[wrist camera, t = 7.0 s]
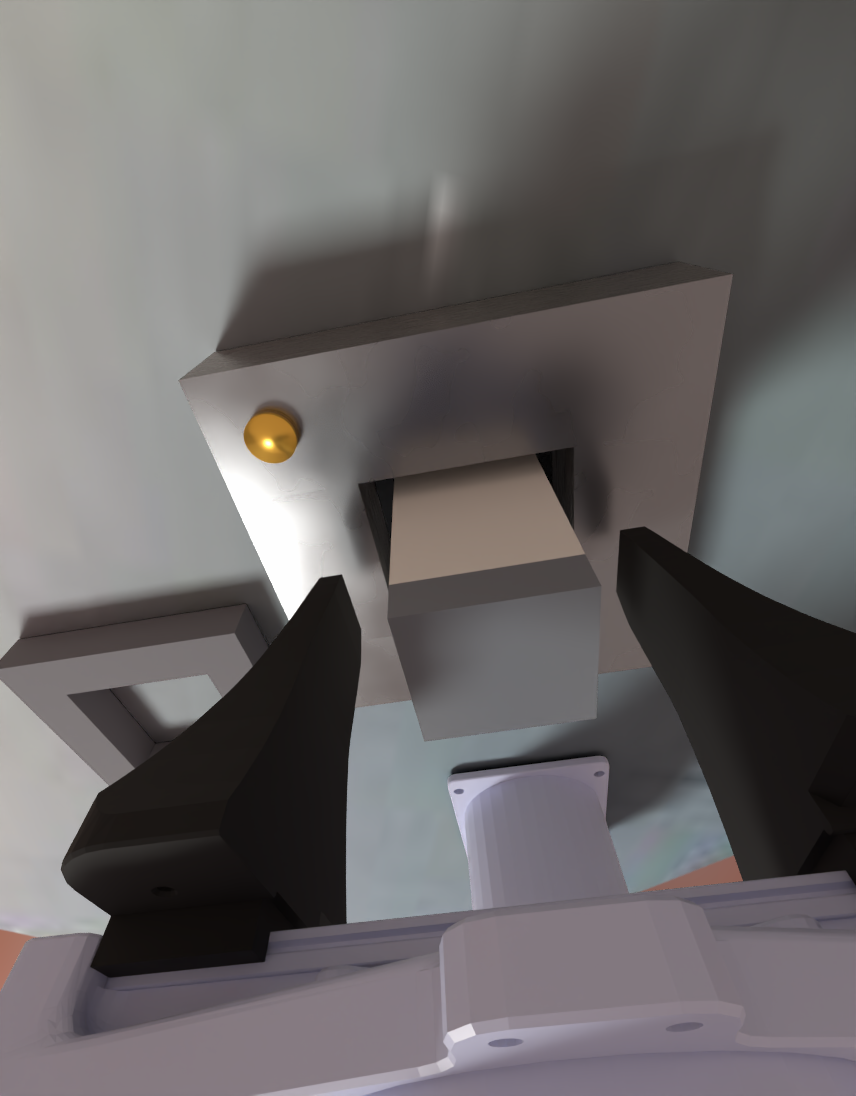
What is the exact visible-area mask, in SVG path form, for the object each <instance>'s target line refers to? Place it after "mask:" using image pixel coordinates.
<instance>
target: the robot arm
mask: <svg viewBox="0 0 856 1096" xmlns="http://www.w3.org/2000/svg"><path fill="white" fill-rule="evenodd" d="M616 593H617V596H618V598H619V601H620V603H621V606H622V609H623V611H624V614H625V616H626V619H627V621H628V624H629V626H630V628H631V630H632V631H633V633H634V635H635V637H636V639H637V640H638V642H639V644H640V646H641V648H642V649H643V651H644V653H645V655H646V657H647V658H648V660H649V662H650V664H651V665H652V667H653V669H654V671H655V672H656V674H657V676H658V678H659V679H660V681H661V683H662V685H663V687H664V688H665V690H666V692H667V694H668V695H669V697H670V699H671V701H672V703H673V705H674V707H675V709H676V711H677V713H678V715H679V717H680V720H681V722H682V724H683V727H684V729H685V731H686V733H687V736H688V738H689V740H690V743H691V745H692V747H693V750H694V752H695V755H696V757H697V760H698V762H699V764H700V767H701V769H702V772H703V774H704V777H705V779H706V782H707V784H708V787H709V789H710V792H711V794H712V797H713V800H714V802H715V805H716V807H717V810H718V813H719V815H720V818H721V821H722V823H723V826H724V829H725V831H726V834H727V837H728V839H729V842H730V845H731V848H732V851H733V854H734V856H735V859H736V862H737V865H738V868H739V871H740V873H741V876H742V879H743V881H742V882H732V883H723V884H714V885H704V886H694V887H686V888H676V889H666V890H658V891H648V892H638V893H629V892H628V889H627V886H626V882H625V879H624V876H623V873H622V870H621V867H620V864H619V860H618V857H617V854H616V851H615V848H614V845H613V842H612V839H611V835H610V832H609V829H608V826H607V823H606V806H607V793H608V780H609V763H608V760H607V758H605V757H604V756H592V757H584V758H576V759H568V760H560V761H553V762H545V763H537V764H529V765H521V766H513V767H505V768H498V769H490V770H482V771H474V772H466V773H458V774H453V775H451V776H449V777H448V779H447V784H448V789H449V793H450V797H451V800H452V804H453V807H454V811H455V815H456V818H457V822H458V825H459V829H460V832H461V836H462V840H463V843H464V847H465V850H466V854H467V857H468V864H469V875H470V886H471V897H472V908H473V910H471V911H461V912H452V913H443V914H433V915H424V916H415V917H405V918H396V919H387V920H377V921H368V922H359V923H349V924H347V922H346V811H347V779H348V757H349V747H350V738H351V731H352V724H353V717H354V711H355V704H356V697H357V690H358V683H359V676H360V668H361V627H360V624H359V621H358V618H357V616H356V613H355V610H354V607H353V604H352V601H351V598H350V596H349V593H348V590H347V587H346V584H345V581H344V578H343V575H342V574H340V575H334V576H328V577H321V578H319V579H318V581H317V582H316V584H315V585H314V586H313V588H312V589H311V590H310V592H309V593H308V595H307V596H306V598H305V599H304V601H303V602H302V603H301V605H300V606H299V608H298V609H297V611H296V612H295V613H294V615H293V616H292V618H291V619H290V620H289V622H288V623H287V624H286V626H285V627H284V628H283V630H282V631H281V632H280V634H279V635H278V636H277V638H276V639H275V640H274V641H273V643H272V644H271V645H270V646H269V648H268V649H267V650H266V651H265V653H264V654H263V655H262V656H261V657H260V659H259V660H258V661H257V662H256V663H255V665H254V666H253V667H252V668H251V669H250V670H249V671H248V672H247V673H246V674H245V676H244V677H243V678H242V679H241V680H240V681H239V682H238V683H237V684H236V685H235V686H234V687H233V688H232V689H231V690H230V691H229V692H228V693H227V694H226V695H225V696H224V697H223V698H222V699H220V700H219V701H218V702H217V703H216V704H215V705H214V706H213V707H212V708H211V709H209V710H208V711H207V712H206V713H205V714H204V715H203V716H202V717H201V718H199V719H198V720H197V721H196V722H195V723H194V724H193V725H191V726H190V727H189V728H188V729H187V730H185V731H184V732H183V733H182V734H180V735H179V736H178V737H177V738H176V739H174V740H173V741H172V742H170V743H169V744H168V745H166V746H165V747H164V748H163V749H161V750H160V751H159V752H157V753H156V754H155V755H153V756H152V757H151V758H149V759H148V760H147V761H145V762H144V763H142V764H141V765H139V766H138V767H136V768H135V769H134V770H132V771H131V772H129V773H128V774H126V775H125V776H123V777H122V778H120V779H119V780H117V781H116V782H115V783H113V784H112V785H110V786H109V787H107V788H106V789H104V790H103V791H101V792H99V793H98V795H97V797H96V799H95V800H94V802H93V804H92V806H91V808H90V810H89V812H88V814H87V816H86V817H85V819H84V821H83V823H82V825H81V827H80V829H79V831H78V833H77V835H76V837H75V838H74V840H73V842H72V844H71V846H70V848H69V850H68V852H67V854H66V856H65V858H64V859H63V862H62V866H61V871H62V873H63V876H64V878H65V880H66V882H67V883H68V884H69V885H70V886H71V887H72V888H73V889H74V890H75V891H76V892H78V893H79V894H81V895H82V896H84V897H85V898H86V899H88V900H89V901H91V902H92V903H94V904H95V905H96V906H98V907H99V908H101V909H102V910H103V911H105V912H106V913H108V914H109V915H111V918H110V920H109V923H108V925H107V927H106V930H105V932H104V935H103V936H102V935H99V934H93V933H75V934H66V935H57V936H48V937H39V938H32V939H30V940H28V941H27V942H26V943H25V945H24V947H23V949H22V950H21V952H20V955H19V956H18V958H17V960H16V962H15V964H14V966H13V968H12V970H11V972H10V974H9V976H8V978H7V980H6V981H5V983H4V985H3V987H2V989H1V991H0V1096H856V633H853V632H851V631H848V630H845V629H843V628H840V627H837V626H834V625H832V624H829V623H826V622H824V621H821V620H818V619H816V618H813V617H811V616H808V615H806V614H803V613H801V612H799V611H796V610H794V609H792V608H790V607H788V606H785V605H783V604H781V603H779V602H776V601H774V600H772V599H770V598H768V597H765V596H763V595H761V594H759V593H757V592H755V591H753V590H751V589H750V588H748V587H746V586H744V585H742V584H740V583H738V582H736V581H734V580H733V579H731V578H729V577H727V576H725V575H724V574H722V573H720V572H718V571H716V570H715V569H713V568H711V567H710V566H708V565H706V564H705V563H703V562H701V561H700V560H698V559H696V558H695V557H693V556H691V555H690V554H688V553H687V552H685V551H683V550H682V549H680V548H679V547H677V546H676V545H674V544H672V543H671V542H669V541H668V540H666V539H665V538H663V537H661V536H660V535H658V534H657V533H655V532H653V531H652V530H650V529H648V528H647V527H645V526H643V527H637V528H630V529H624V530H620V537H619V553H618V568H617V584H616Z"/></svg>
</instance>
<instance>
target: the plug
mask: <svg viewBox="0 0 856 1096" xmlns="http://www.w3.org/2000/svg"><path fill="white" fill-rule="evenodd" d="M600 611H601V584H600V582H599V580H598V578H597V576H596V574H595V572H594V570H593V568H592V566H591V564H590V562H589V560H588V558H587V556H586V554H585V552H584V550H583V548H582V546H581V544H580V542H579V540H578V538H577V536H576V534H575V532H574V530H573V528H572V526H571V525H570V523H569V521H568V519H567V517H566V515H565V513H564V511H563V509H562V507H561V505H560V503H559V501H558V499H557V497H556V495H555V493H554V491H553V489H552V487H551V485H550V483H549V481H548V479H547V477H546V475H545V473H544V471H543V469H542V467H541V465H540V463H539V461H538V459H537V457H536V455H535V454H529V455H523V456H518V457H512V458H506V459H500V460H494V461H488V462H483V463H477V464H471V465H465V466H459V467H453V468H448V469H442V470H436V471H430V472H424V473H418V474H413V475H407V476H401V477H395V478H394V494H393V514H392V534H391V554H390V574H389V593H388V613H387V620H388V623H389V626H390V629H391V633H392V636H393V639H394V643H395V646H396V649H397V652H398V656H399V659H400V662H401V666H402V669H403V672H404V675H405V679H406V682H407V685H408V689H409V692H410V695H411V698H412V702H413V705H414V708H415V712H416V715H417V718H418V721H419V725H420V728H421V731H422V735H423V738H424V741H432V740H440V739H447V738H455V737H462V736H470V735H477V734H485V733H492V732H500V731H507V730H515V729H522V728H530V727H537V726H545V725H552V724H560V723H567V722H575V721H582V720H590V719H596V718H597V691H598V664H599V637H600Z"/></svg>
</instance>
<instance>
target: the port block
mask: <svg viewBox="0 0 856 1096" xmlns="http://www.w3.org/2000/svg"><path fill="white" fill-rule="evenodd" d="M732 278H733V274H731V273H727V272H722V271H718V270H713V269H709V268H704V267H700V266H695V265H691V264H687V263H682V262H674V263H669V264H664V265H659V266H654V267H649V268H644V269H638V270H633V271H628V272H623V273H618V274H613V275H608V276H603V277H597V278H592V279H587V280H582V281H577V282H572V283H567V284H561V285H556V286H551V287H546V288H541V289H536V290H531V291H526V292H520V293H515V294H510V295H505V296H500V297H495V298H490V299H484V300H479V301H474V302H469V303H464V304H459V305H454V306H449V307H443V308H438V309H433V310H428V311H423V312H418V313H413V314H408V315H402V316H397V317H392V318H387V319H382V320H377V321H372V322H366V323H361V324H356V325H351V326H346V327H341V328H336V329H331V330H325V331H320V332H315V333H310V334H305V335H300V336H295V337H289V338H284V339H279V340H274V341H269V342H264V343H259V344H254V345H248V346H243V347H238V348H233V349H228V350H223V351H218V352H214V353H213V354H211V355H210V356H209V357H208V358H206V359H205V360H204V361H203V362H201V363H200V364H199V365H197V366H196V367H195V368H194V369H192V370H191V371H190V372H188V373H187V374H186V375H185V376H183V377H182V378H181V379H180V380H179V382H180V385H181V387H182V389H183V391H184V393H185V395H186V398H187V400H188V402H189V404H190V406H191V408H192V411H193V413H194V415H195V417H196V419H197V421H198V424H199V426H200V428H201V430H202V432H203V435H204V437H205V439H206V441H207V443H208V445H209V448H210V450H211V452H212V454H213V456H214V458H215V461H216V463H217V465H218V467H219V469H220V471H221V474H222V476H223V478H224V480H225V482H226V484H227V487H228V489H229V491H230V493H231V495H232V498H233V500H234V502H235V504H236V506H237V508H238V511H239V513H240V515H241V517H242V519H243V521H244V524H245V526H246V528H247V530H248V532H249V534H250V537H251V539H252V541H253V543H254V545H255V547H256V550H257V552H258V554H259V556H260V558H261V561H262V563H263V565H264V567H265V569H266V571H267V574H268V576H269V578H270V580H271V582H272V584H273V587H274V589H275V591H276V593H277V595H278V597H279V600H280V602H281V604H282V606H283V608H284V610H285V613H286V615H287V617H288V619H289V620H290V619H291V618H292V616H293V615H294V613H295V612H296V611H297V609H298V608H299V606H300V605H301V603H302V602H303V601H304V599H305V598H306V596H307V595H308V593H309V592H310V590H311V589H312V588H313V586H314V585H315V584H316V582H317V581H318V579H319V578H321V577H328V576H334V575H340V574H342V575H343V578H344V581H345V584H346V587H347V590H348V593H349V596H350V598H351V601H352V604H353V607H354V610H355V613H356V616H357V618H358V621H359V624H360V627H361V668H360V676H359V683H358V690H357V697H356V704H355V708H357V707H364V706H371V705H378V704H385V703H393V702H400V701H407V700H412V698H411V695H410V692H409V689H408V685H407V682H406V679H405V675H404V672H403V669H402V666H401V662H400V659H399V656H398V652H397V649H396V646H395V643H394V639H393V636H392V633H391V629H390V626H389V623H388V620H387V613H388V593H389V574H390V554H391V543H390V539H389V535H388V531H387V528H386V524H385V520H384V516H383V512H382V509H381V505H380V501H379V497H378V493H377V490H376V486H375V482H374V481H378V480H383V479H389V478H395V477H401V476H407V475H413V474H418V473H424V472H430V471H436V470H442V469H448V468H453V467H459V466H465V465H471V464H477V463H483V462H488V461H494V460H500V459H506V458H512V457H518V456H523V455H529V454H535V453H541V452H547V451H551V456H552V489H553V491H554V493H555V495H556V497H557V499H558V501H559V503H560V505H561V507H562V509H563V511H564V513H565V515H566V517H567V519H568V521H569V523H570V525H571V526H572V528H573V530H574V532H575V534H576V536H577V538H578V540H579V542H580V544H581V546H582V548H583V550H584V552H585V554H586V556H587V558H588V560H589V562H590V564H591V566H592V568H593V570H594V572H595V574H596V576H597V578H598V580H599V582H600V584H601V611H600V637H599V664H598V674H602V673H609V672H616V671H623V670H630V669H638V668H645V667H652V665H651V664H650V662H649V660H648V658H647V657H646V655H645V653H644V651H643V649H642V648H641V646H640V644H639V642H638V640H637V639H636V637H635V635H634V633H633V631H632V630H631V628H630V626H629V624H628V621H627V619H626V616H625V614H624V611H623V609H622V606H621V603H620V601H619V598H618V596H617V593H616V584H617V568H618V553H619V537H620V530H624V529H630V528H637V527H643V526H645V527H647V528H648V529H650V530H652V531H653V532H655V533H657V534H658V535H660V536H661V537H663V538H665V539H666V540H668V541H669V542H671V543H672V544H674V545H676V546H677V547H679V548H680V549H682V550H683V551H685V552H688V546H689V539H690V533H691V527H692V521H693V515H694V509H695V503H696V497H697V491H698V485H699V479H700V473H701V466H702V460H703V454H704V448H705V442H706V436H707V430H708V424H709V418H710V412H711V406H712V400H713V393H714V387H715V381H716V375H717V369H718V363H719V357H720V351H721V345H722V339H723V333H724V327H725V320H726V314H727V308H728V302H729V296H730V290H731V284H732Z"/></svg>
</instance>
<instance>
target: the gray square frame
mask: <svg viewBox="0 0 856 1096" xmlns="http://www.w3.org/2000/svg"><path fill="white" fill-rule="evenodd" d="M268 648H269V647H268V645H267V643H266V641H265V639H264V637H263V636H262V634H261V632H260V630H259V628H258V626H257V624H256V622H255V620H254V618H253V616H252V614H251V612H250V610H249V608H248V606H247V605H246V604H242V605H236V606H230V607H223V608H217V609H210V610H204V611H198V612H191V613H185V614H178V615H172V616H166V617H159V618H153V619H146V620H140V621H134V622H127V623H121V624H115V625H108V626H102V627H95V628H89V629H83V630H76V631H70V632H63V633H57V634H51V635H44V636H38V637H31V638H25V639H19V640H18V641H17V642H16V643H15V644H14V645H13V646H12V647H11V648H10V650H9V651H8V652H7V653H6V654H5V655H4V656H3V657H2V659H1V660H0V680H1V681H3V682H4V683H5V684H6V685H7V686H8V687H9V688H10V689H11V690H12V691H13V692H14V693H15V694H16V695H17V696H18V697H19V698H20V699H21V700H22V701H23V702H24V703H25V704H26V705H27V706H28V707H29V708H30V709H31V710H32V711H33V712H34V713H35V714H36V715H37V716H38V717H39V718H40V719H41V720H42V721H43V722H44V723H46V724H47V725H48V726H49V727H50V728H51V729H52V730H53V731H54V732H55V733H56V734H57V735H58V736H59V737H60V738H61V739H62V740H63V741H64V742H65V743H66V744H67V745H68V746H69V747H70V748H71V749H72V750H73V751H74V752H75V753H76V754H77V755H78V756H79V757H80V758H81V759H82V760H83V761H84V762H85V763H86V764H87V765H88V766H90V767H91V768H92V769H93V770H94V771H95V772H96V773H97V774H98V775H99V776H100V777H101V778H102V779H103V780H104V781H105V782H106V783H107V784H108V785H109V786H110V785H112V784H113V783H115V782H116V781H117V780H119V779H120V778H122V777H123V776H125V775H126V774H128V773H129V772H131V771H132V770H134V769H135V768H136V767H138V766H139V765H141V764H142V763H144V762H145V761H147V760H148V759H149V758H151V757H152V756H153V755H155V754H156V753H157V752H159V751H160V750H161V749H163V748H164V747H165V746H166V745H168V744H169V743H170V742H164V743H156V744H155V743H154V742H153V741H152V739H151V738H150V737H149V736H148V735H147V733H146V732H145V731H144V730H143V729H142V728H141V726H140V725H139V724H138V723H137V722H136V720H135V719H134V718H133V717H132V716H131V715H130V713H129V712H128V711H127V710H126V709H125V707H124V706H123V705H122V704H121V703H120V702H119V700H118V699H117V698H116V697H115V696H114V694H113V693H112V692H111V691H110V690H109V688H116V687H123V686H130V685H137V684H143V683H150V682H157V681H164V680H171V679H177V678H184V677H191V676H198V675H205V674H208V676H209V677H210V679H211V681H212V682H213V684H214V685H215V687H216V688H217V690H218V691H219V693H220V694H221V696H222V697H224V696H225V695H226V694H227V693H228V692H229V691H230V690H231V689H232V688H233V687H234V686H235V685H236V684H237V683H238V682H239V681H240V680H241V679H242V678H243V677H244V676H245V674H246V673H247V672H248V671H249V670H250V669H251V668H252V667H253V666H254V665H255V663H256V662H257V661H258V660H259V659H260V657H261V656H262V655H263V654H264V653H265V651H266V650H267V649H268ZM171 742H172V741H171Z"/></svg>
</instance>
